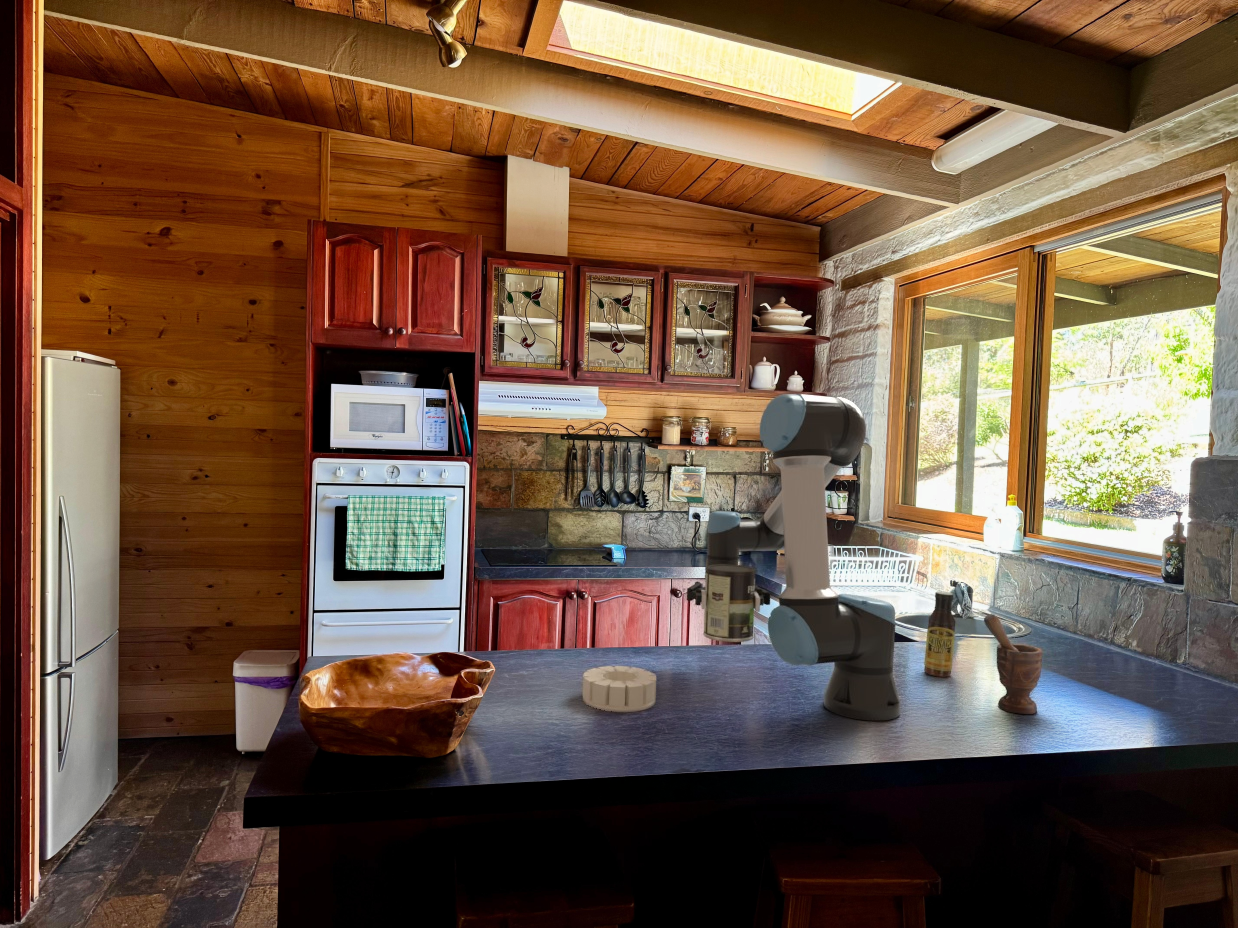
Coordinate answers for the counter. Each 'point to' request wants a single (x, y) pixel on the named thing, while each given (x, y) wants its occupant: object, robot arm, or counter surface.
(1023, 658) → the mortar and pestle
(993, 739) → the counter surface
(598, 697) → the cream cog ring
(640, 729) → the counter surface
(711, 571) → the coffee can
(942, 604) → the sauce bottle
